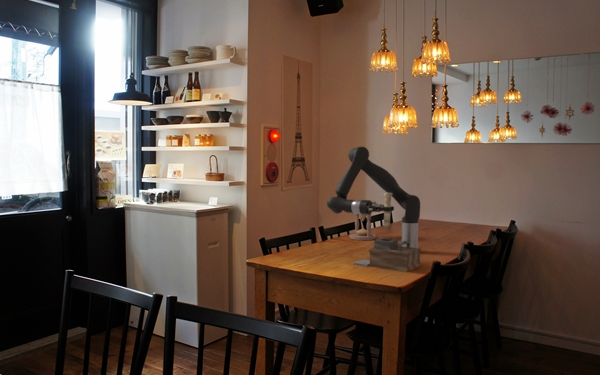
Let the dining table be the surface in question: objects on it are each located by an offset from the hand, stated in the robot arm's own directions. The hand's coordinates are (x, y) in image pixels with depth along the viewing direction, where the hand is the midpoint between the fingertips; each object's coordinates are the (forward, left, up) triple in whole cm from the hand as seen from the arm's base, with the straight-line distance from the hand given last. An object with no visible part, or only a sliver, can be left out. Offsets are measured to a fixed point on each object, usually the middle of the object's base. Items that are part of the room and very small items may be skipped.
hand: (391, 209), depth 262 cm
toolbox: (0, +2, -29) cm, 29 cm away
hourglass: (-65, -53, -29) cm, 89 cm away
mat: (+4, -13, -29) cm, 32 cm away
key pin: (0, -3, -10) cm, 10 cm away
